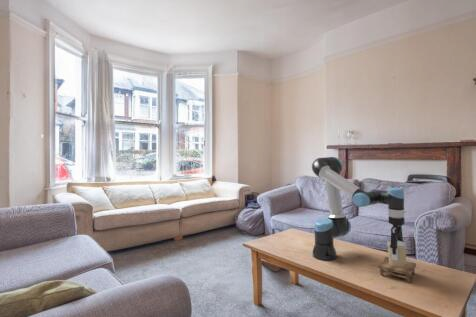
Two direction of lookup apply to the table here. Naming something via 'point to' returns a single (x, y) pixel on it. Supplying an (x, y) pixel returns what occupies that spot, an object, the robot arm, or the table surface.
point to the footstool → (397, 269)
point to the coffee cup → (401, 254)
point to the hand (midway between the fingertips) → (397, 256)
